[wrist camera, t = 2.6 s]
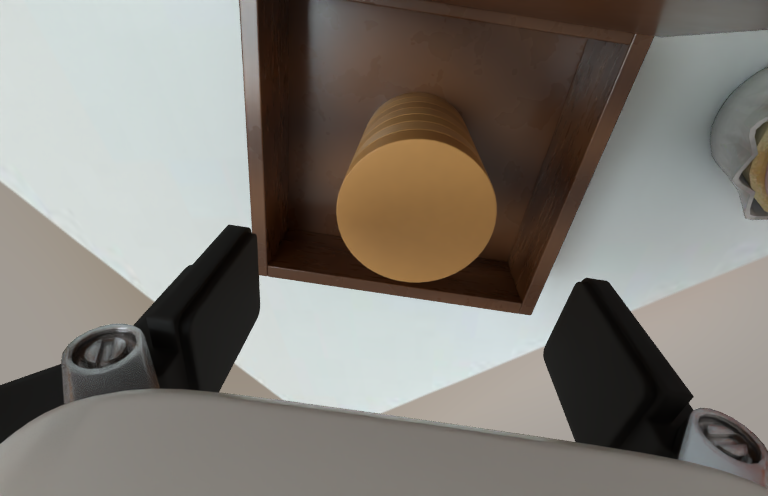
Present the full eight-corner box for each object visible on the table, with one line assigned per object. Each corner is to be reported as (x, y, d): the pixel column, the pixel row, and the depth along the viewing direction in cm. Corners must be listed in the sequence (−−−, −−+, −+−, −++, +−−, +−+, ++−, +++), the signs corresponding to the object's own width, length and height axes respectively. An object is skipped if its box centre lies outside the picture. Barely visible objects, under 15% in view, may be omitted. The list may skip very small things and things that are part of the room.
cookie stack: (380, 75, 21) (360, 114, 13) (487, 113, 21) (527, 171, 14) (351, 178, 24) (320, 258, 16) (444, 208, 25) (457, 299, 17)
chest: (512, 266, 27) (531, 316, 23) (280, 231, 27) (254, 274, 23) (603, 22, 20) (660, 25, 15) (277, -29, 19) (236, -41, 15)
